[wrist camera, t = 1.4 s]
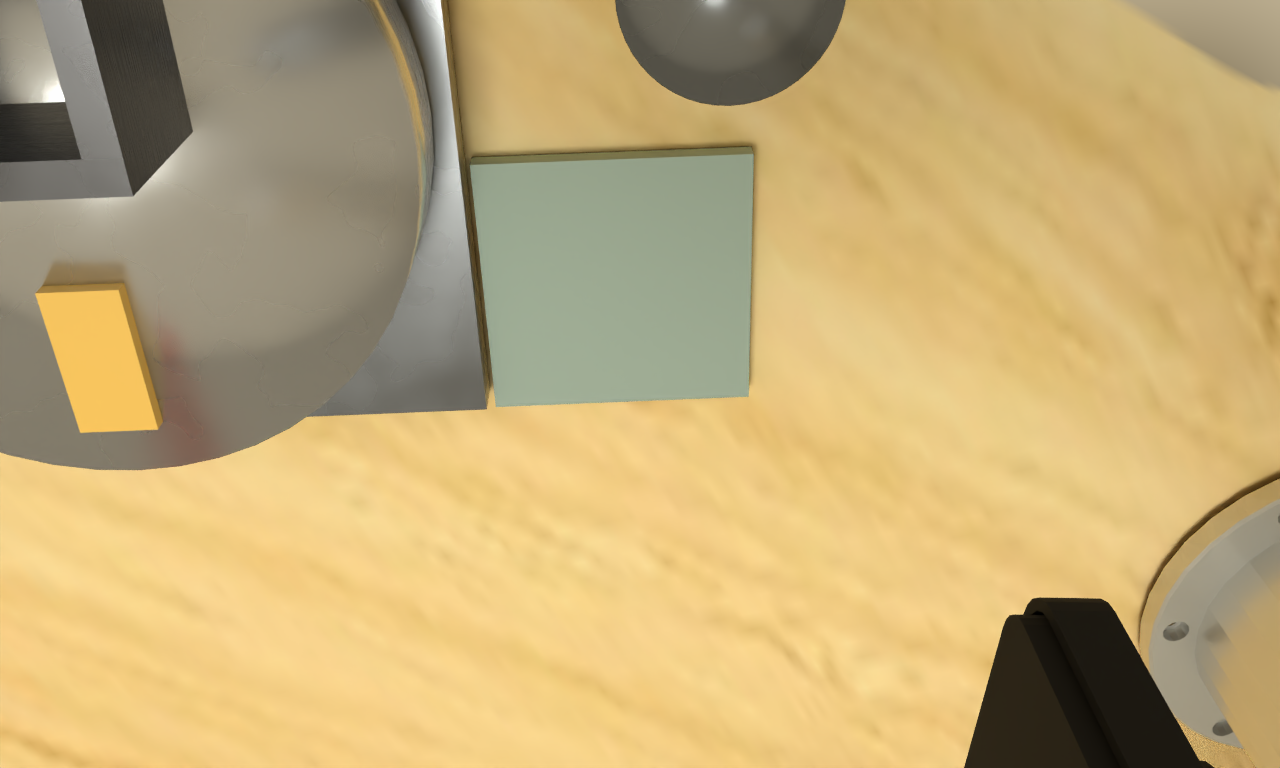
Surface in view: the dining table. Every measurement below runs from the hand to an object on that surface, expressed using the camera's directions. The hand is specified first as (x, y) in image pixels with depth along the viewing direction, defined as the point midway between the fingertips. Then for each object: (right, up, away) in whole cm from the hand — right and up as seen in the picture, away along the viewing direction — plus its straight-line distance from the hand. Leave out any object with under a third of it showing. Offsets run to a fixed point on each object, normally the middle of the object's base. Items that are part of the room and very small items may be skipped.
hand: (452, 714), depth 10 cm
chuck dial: (-12, +9, +19) cm, 25 cm away
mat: (+1, +6, +24) cm, 25 cm away
